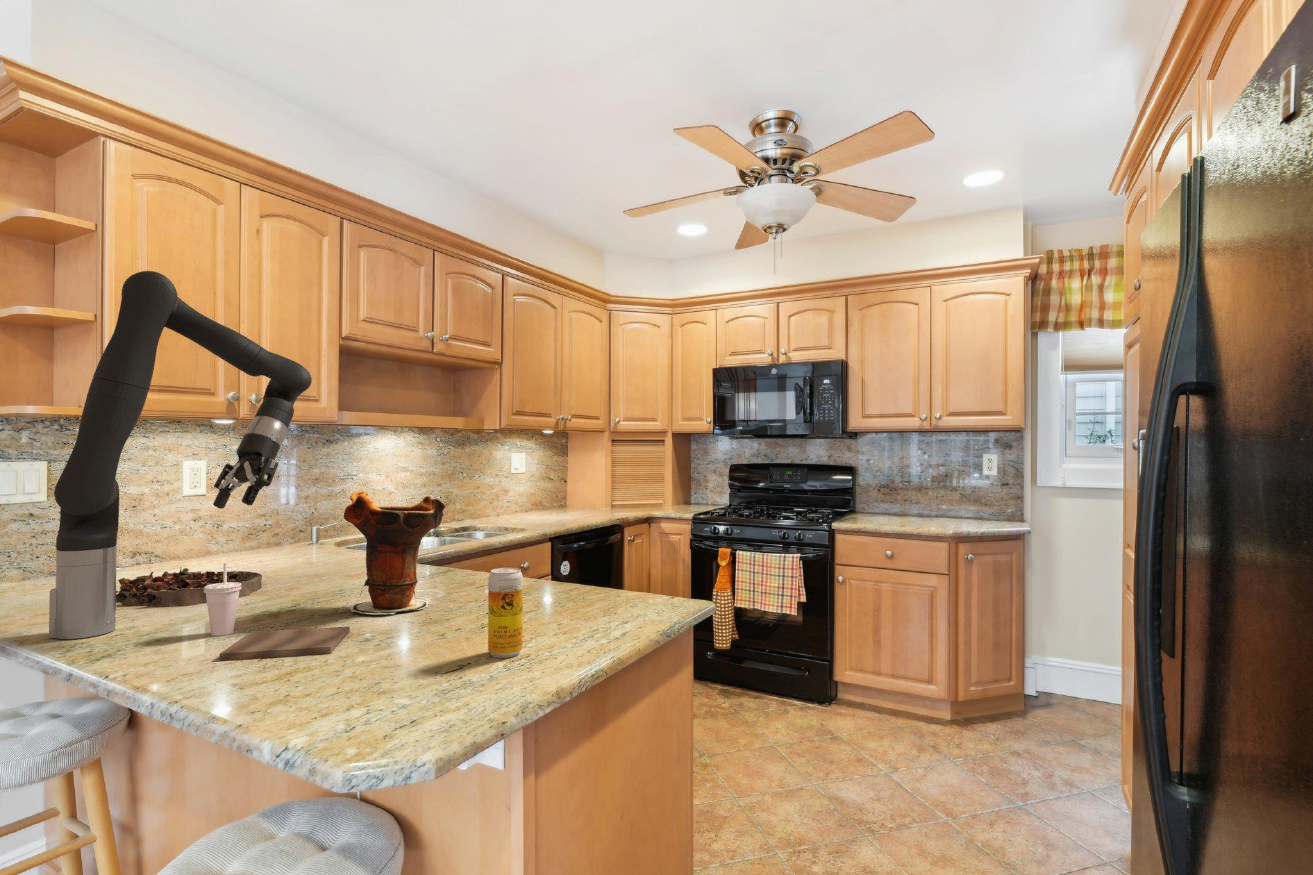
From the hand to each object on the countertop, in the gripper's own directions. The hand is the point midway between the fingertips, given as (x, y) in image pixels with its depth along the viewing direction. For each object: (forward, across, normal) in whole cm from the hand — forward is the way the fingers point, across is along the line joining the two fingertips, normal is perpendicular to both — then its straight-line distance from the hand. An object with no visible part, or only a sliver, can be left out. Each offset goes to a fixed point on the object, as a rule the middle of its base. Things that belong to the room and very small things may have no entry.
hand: (232, 505), depth 138 cm
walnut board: (+27, +22, +8) cm, 36 cm away
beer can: (+27, +62, +19) cm, 71 cm away
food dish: (+9, -43, +27) cm, 51 cm away
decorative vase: (+12, +18, +35) cm, 41 cm away
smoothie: (+25, +2, +9) cm, 26 cm away
